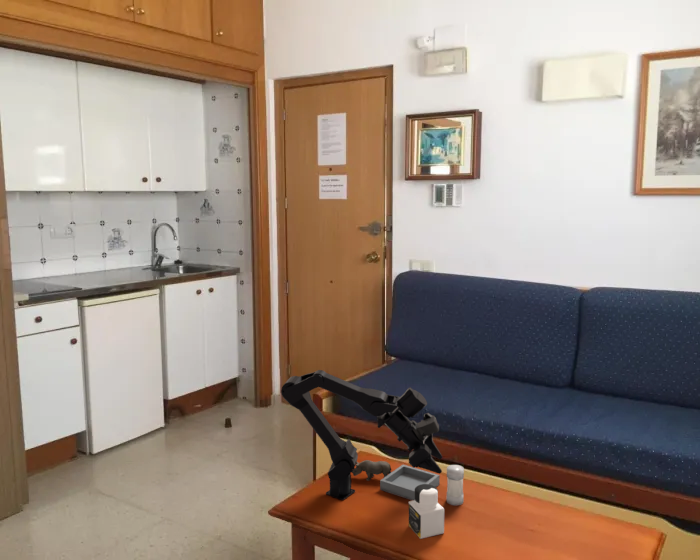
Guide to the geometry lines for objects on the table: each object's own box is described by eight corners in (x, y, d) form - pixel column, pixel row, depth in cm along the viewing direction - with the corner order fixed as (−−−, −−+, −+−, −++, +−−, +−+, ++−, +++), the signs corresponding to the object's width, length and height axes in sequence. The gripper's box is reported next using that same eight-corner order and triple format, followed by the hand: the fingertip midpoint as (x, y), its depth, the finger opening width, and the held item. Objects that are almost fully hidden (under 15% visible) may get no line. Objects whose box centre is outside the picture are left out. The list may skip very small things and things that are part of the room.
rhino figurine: (349, 474, 203) (349, 456, 202) (393, 476, 201) (392, 458, 200) (347, 480, 199) (347, 462, 198) (391, 483, 197) (391, 464, 196)
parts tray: (417, 502, 185) (417, 492, 185) (380, 489, 193) (380, 480, 192) (439, 484, 196) (439, 475, 195) (402, 473, 203) (402, 464, 203)
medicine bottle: (408, 525, 173) (408, 484, 171) (431, 520, 175) (431, 479, 173) (420, 539, 166) (420, 496, 164) (444, 533, 169) (444, 491, 167)
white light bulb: (458, 507, 182) (459, 473, 180) (443, 502, 185) (443, 469, 183) (466, 500, 186) (466, 467, 184) (451, 495, 189) (451, 463, 187)
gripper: (420, 421, 173) (461, 461, 173) (423, 397, 192) (461, 434, 192) (391, 447, 176) (432, 487, 176) (397, 421, 194) (434, 457, 194)
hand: (441, 465), depth 184 cm, fingers open, 9 cm apart
